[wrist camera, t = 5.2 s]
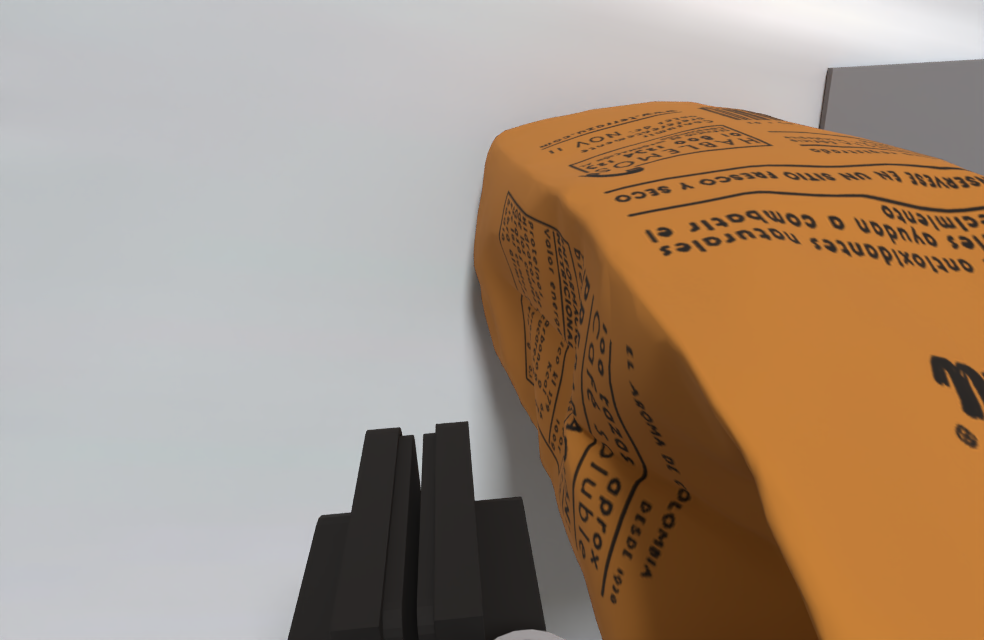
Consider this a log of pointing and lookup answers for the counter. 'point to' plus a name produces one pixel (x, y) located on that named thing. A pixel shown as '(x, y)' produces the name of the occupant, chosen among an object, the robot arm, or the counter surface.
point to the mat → (912, 108)
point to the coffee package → (747, 369)
